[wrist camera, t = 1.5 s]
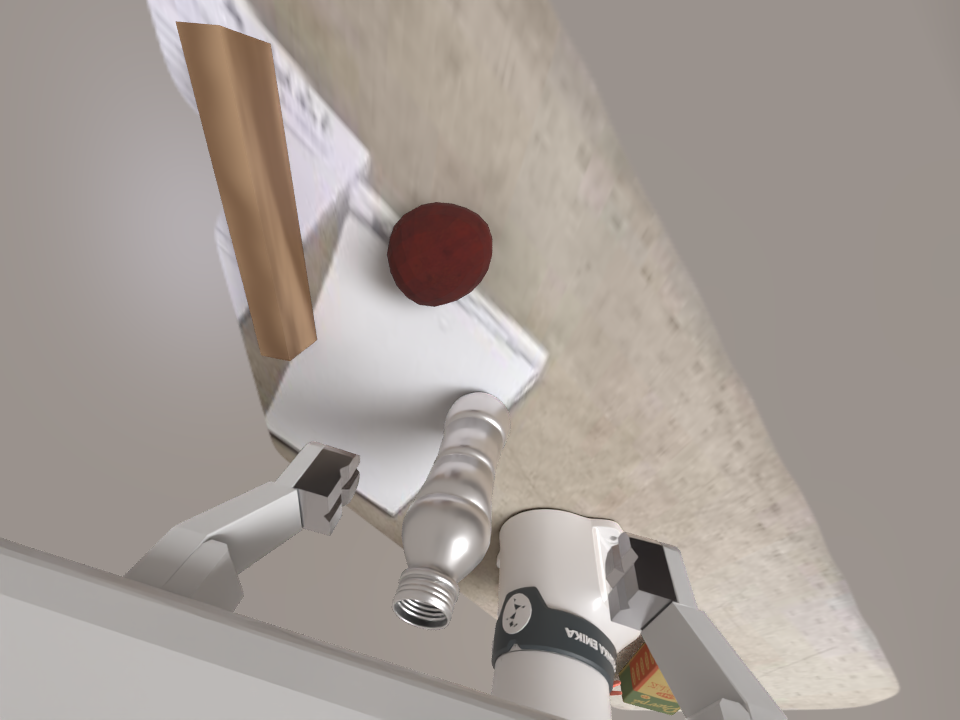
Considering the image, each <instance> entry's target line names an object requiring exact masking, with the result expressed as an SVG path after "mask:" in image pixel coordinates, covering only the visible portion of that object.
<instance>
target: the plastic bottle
mask: <svg viewBox="0 0 960 720" xmlns="http://www.w3.org/2000/svg"><path fill="white" fill-rule="evenodd" d="M510 429H511V424H510V414H509V412H508V409H507V408H506V406H505V405H504V404H503V403H502V402H501V401H500V400H499V399H498V398H496V397H495V396H493V395H491V394H487V393H482V392H475V393H470V394H466V395H464V396H462V397H460V398H459V399H457V400H456V401H455V403H454V404H453V405H452V407H451V408H450V409H449V411H448V413H447V416H446V420H445V425H444V435H443V438H442V442H441V445H440V449H439V452H438V456H437V458H436V460H435V462H434V465H433V466H432V468H431V470H430V473H429V475H428V477H427V479H426V481H425V483H424V484H423V486H422V487H421V489H420V491H419V492H418V494H417V496H416V497H415V499H414V501H413V502H412V504H411V505H410V507H409V509H408V511H407V513H406V515H405V517H404V520H403V526H402V542H403V548H404V553H405V557H406V560H407V564H408V568H407V569H405V570H404V571H403V572H402V574H401V577H400V579H399V586H398V589H397V591H396V594H395V597H394V599H393V603H392V610H393V612H394V613H395V614H396V616H398V617H399V618H400V619H401V620H403V621H405V622H406V623H408V624H410V625H413V626H415V627H419V628H422V629H428V630H440V629H443V628H445V627H447V626H448V625H449V623H450V620H451V617H452V613H453V609H454V605H455V603H456V602H457V599H458V596H459V590H460V589H459V586H458V584H457V583H458V582H459V581H461V580H462V579H463V578H464V577H466V576H467V575H468V574H469V573H470V572H471V571H472V570H473V569H474V568H475V567H476V566H477V565H478V564H479V563H480V562H481V561H482V560H483V558H484V556H485V554H486V552H487V550H488V548H489V546H490V537H491V521H492V494H493V487H494V479H495V472H496V469H497V465H498V462H499V459H500V456H501V452H502V450H503V448H504V446H505V444H506V442H507V439H508V436H509V434H510Z"/></svg>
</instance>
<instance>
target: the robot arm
mask: <svg viewBox="0 0 960 720" xmlns="http://www.w3.org/2000/svg"><path fill="white" fill-rule="evenodd" d="M359 463H360V455H356V454H353V453H350V452H347V451H344V450H341V449H337V448H334V447H331V446H328V445H325V444H322V443H318V442H315V441H311V442H309V443H308V444H306V445H305V447H304V448H303V449H302V450H301V451H300V452H299V454H298V455H297V456H296V457H295V458H294V460H293V461H292V462H291V463H290V464H289V466H288V467H287V468H286V469H285V470H284V472H283V473H282V474H281V475H280V476H279V477H278V479H277V480H276V481H275V482H271V481H269V482H267V483H265V484H262V485H260V486H258V487H256V488H254V489H252V490H250V491H247V492H245V493H243V494H241V495H239V496H237V497H235V498H233V499H230V500H228V501H226V502H224V503H222V504H220V505H218V506H215V507H213V508H211V509H209V510H207V511H205V512H203V513H201V514H198V515H196V516H194V517H192V518H190V519H188V520H186V521H183V522H181V523H179V524H177V525H175V526H174V527H173V528H172V529H171V530H170V531H169V532H167V534H165V536H164V537H162V538H161V539H160V540H159V541H158V542H157V544H155V545H154V546H153V547H152V548H151V549H150V550H149V551H148V552H147V553H146V554H145V555H144V556H143V557H142V558H141V559H140V560H139V561H138V562H137V563H136V564H135V565H134V566H133V567H132V568H131V569H130V570H129V571H128V572H127V573H126V574H125V575H124V576H123V577H122V576H119V575H116V574H113V573H110V572H107V571H103V570H100V569H97V568H94V567H91V566H87V565H85V564H81V563H78V562H75V561H72V560H69V559H65V558H63V557H59V556H56V555H53V554H50V553H47V552H43V551H40V550H37V549H34V548H31V547H28V546H25V545H22V544H19V543H16V542H13V541H10V540H7V539H4V538H1V537H0V720H612V715H611V704H610V695H621V694H622V692H621V691H612V689H613V687H615V686H618V685H620V684H621V682H620V681H618V680H616V681H614V676H615V672H616V657H617V653H619V652H620V651H621V650H622V649H623V648H625V647H626V646H627V645H629V644H630V643H632V642H633V641H634V640H636V639H637V638H638V637H639V635H640V634H641V635H642V637H643V639H644V641H645V643H646V645H647V646H648V648H649V650H650V652H651V654H652V656H653V658H654V659H655V661H656V663H657V665H658V667H659V669H660V671H661V673H662V674H663V676H664V678H665V680H666V682H667V684H668V686H669V687H670V689H671V691H672V693H673V695H674V697H675V699H676V701H677V702H678V704H679V706H680V708H681V710H682V712H683V714H684V715H685V717H686V719H685V720H788V719H787V717H786V715H785V714H784V713H783V711H782V710H781V709H780V707H779V706H778V705H777V704H776V702H775V701H774V700H773V699H772V697H771V696H770V695H769V693H768V692H767V691H766V690H765V688H764V687H763V686H762V685H761V683H760V682H759V681H758V679H757V678H756V677H755V676H754V674H753V673H752V672H751V670H750V669H749V668H748V667H747V665H746V664H745V663H744V662H743V660H742V659H741V658H740V656H739V655H738V654H737V653H736V651H735V650H734V649H733V647H732V646H731V645H730V644H729V642H728V641H727V640H726V639H725V637H724V636H723V635H722V633H721V632H720V631H719V630H718V628H717V627H716V626H715V625H714V623H713V622H712V621H711V619H710V618H709V617H708V616H707V614H706V613H705V612H704V611H703V610H700V609H698V606H697V603H696V600H695V597H694V593H693V590H692V587H691V584H690V581H689V577H688V574H687V571H686V568H685V565H684V561H683V558H682V555H681V552H680V550H679V549H678V547H676V546H673V545H669V544H665V543H662V542H658V541H657V540H653V539H649V538H646V537H642V536H638V535H635V534H631V533H627V532H623V531H622V529H621V527H620V526H619V524H618V523H616V522H614V521H611V520H604V519H590V518H586V517H582V516H579V515H576V514H573V513H570V512H565V511H560V510H551V509H539V510H531V511H526V512H522V513H520V514H517V515H515V516H513V517H511V518H510V519H509V520H507V521H506V522H505V523H504V525H503V526H502V528H501V530H500V534H499V541H500V552H499V554H498V556H497V567H498V568H499V569H500V571H499V591H498V620H497V623H496V628H495V635H494V641H493V644H492V666H493V668H494V677H493V685H492V692H491V695H490V694H487V693H484V692H481V691H478V690H475V689H471V688H468V687H465V686H462V685H459V684H456V683H452V682H450V681H447V680H444V679H440V678H437V677H434V676H431V675H428V674H425V673H422V672H419V671H415V670H412V669H409V668H406V667H403V666H400V665H397V664H393V663H391V662H387V661H384V660H381V659H378V658H375V657H372V656H369V655H366V654H362V653H359V652H356V651H353V650H350V649H347V648H343V647H340V646H337V645H334V644H331V643H328V642H325V641H322V640H319V639H315V638H312V637H309V636H306V635H303V634H300V633H297V632H294V631H291V630H288V629H284V628H281V627H278V626H275V625H272V624H269V623H266V622H263V621H259V620H256V619H253V618H250V617H247V616H244V615H241V614H238V613H234V610H235V609H236V607H237V606H238V604H239V603H240V601H241V600H242V598H243V597H244V595H243V589H242V586H241V583H240V581H239V578H238V574H239V573H241V572H242V571H244V570H245V569H246V568H248V567H250V566H251V565H252V564H254V563H255V562H257V561H258V560H260V559H261V558H262V557H264V556H265V555H267V554H268V553H270V552H271V551H272V550H274V549H276V548H277V547H278V546H280V545H281V544H283V543H284V542H286V541H287V540H289V539H290V538H291V537H293V536H294V535H296V534H297V533H299V532H300V531H301V530H302V528H304V529H307V530H311V531H314V532H318V533H322V534H326V535H329V536H330V535H331V533H332V532H333V530H334V528H335V526H336V525H337V523H338V521H339V520H340V518H341V516H342V507H343V506H345V505H346V504H348V503H350V501H351V499H352V497H353V495H354V493H355V491H356V488H357V486H358V482H359V476H360V472H359V471H358V470H357V467H358V465H359Z"/></svg>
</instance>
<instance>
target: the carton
mask: <svg viewBox="0 0 960 720" xmlns="http://www.w3.org/2000/svg"><path fill="white" fill-rule="evenodd" d="M619 678H620V682H621V684H620V686H621V692H622V699H623V702H624V703H628V704H632V705H635V706H639V707H643V708H647V709H650V710H654V711H658V712H662V713H666V714H670V715H673V714H675V713H676V712H677V711H678V710H679V709H681V708H680V706H679V704H678V702H677V701H676V699H675V697H674V695H673V693H672V691H671V689H670V687H669V686H668V684H667V682H666V680H665V678H664V676H663V674H662V673H661V671H660V669H659V667H658V665H657V663H656V661H655V659H654V658H653V656H652V654H651V652H650V650H649V648H648V646H647V645H646V643H645V642H644V644H643V645H642V646H641V647H640V648H639V650H638V651H637V652H636V653H635V655H634V656H633V657H632V658H631V660H630V661H629V662H628V663H627V664H626V666H625V667H624V668H623V669H622V670H621V671H620V672H619Z"/></svg>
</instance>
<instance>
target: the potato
mask: <svg viewBox="0 0 960 720" xmlns="http://www.w3.org/2000/svg"><path fill="white" fill-rule="evenodd" d="M387 257H388V262H389V267H390V272H391V274H392V276H393V278H394V281H395V283H396V285H397V286H398V287H399V289H400V290H401V291H402V292H403V294H404V295H405V296H406V297H407V298H409V299H411V300H412V301H414V302H416V303H417V304H419V305H426V306H433V307H435V306H439V305H443V304H447V303H450V302H453V301H457V300H458V299H460V298H462V297H463V296H465V295H467V294H468V293H470V292H472V290H473V289H474V288H475V287H476V286H477V285H478V284H479V283H480V282H481V281H482V279H483V277H484V276H485V274H486V272H487V271H488V268H489V264H490V261H491V257H492V236H491V233H490V230H489V227H488V224H487V223H486V222H485V221H484V220H483V219H482V218H481V217H480V216H479V215H478V214H476V213H475V212H473V211H471V210H469V209H467V208H465V207H461V206H458V205H455V204H450V203H439V202H435V203H429V204H424V205H421V206H419V207H417V208H415V209H414V210H412V211H410V212H408V213H406V214H405V215H403V216H402V218H401V219H400V220H399V221H398V222H397V223H396V225H395V226H394V228H393V231H392V234H391V237H390V241H389V247H388V252H387Z"/></svg>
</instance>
